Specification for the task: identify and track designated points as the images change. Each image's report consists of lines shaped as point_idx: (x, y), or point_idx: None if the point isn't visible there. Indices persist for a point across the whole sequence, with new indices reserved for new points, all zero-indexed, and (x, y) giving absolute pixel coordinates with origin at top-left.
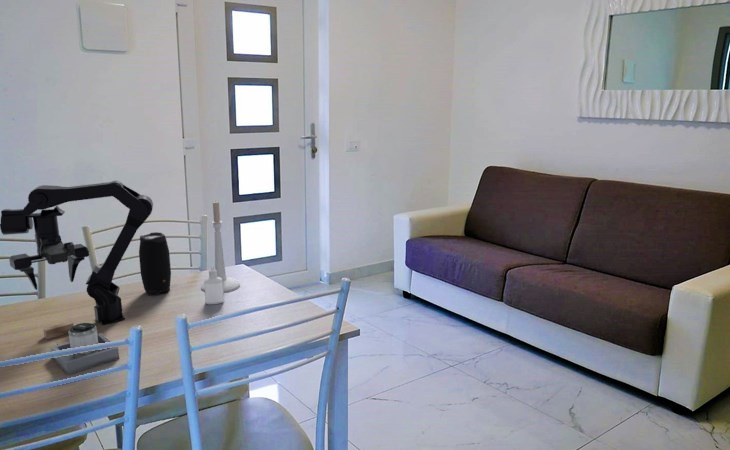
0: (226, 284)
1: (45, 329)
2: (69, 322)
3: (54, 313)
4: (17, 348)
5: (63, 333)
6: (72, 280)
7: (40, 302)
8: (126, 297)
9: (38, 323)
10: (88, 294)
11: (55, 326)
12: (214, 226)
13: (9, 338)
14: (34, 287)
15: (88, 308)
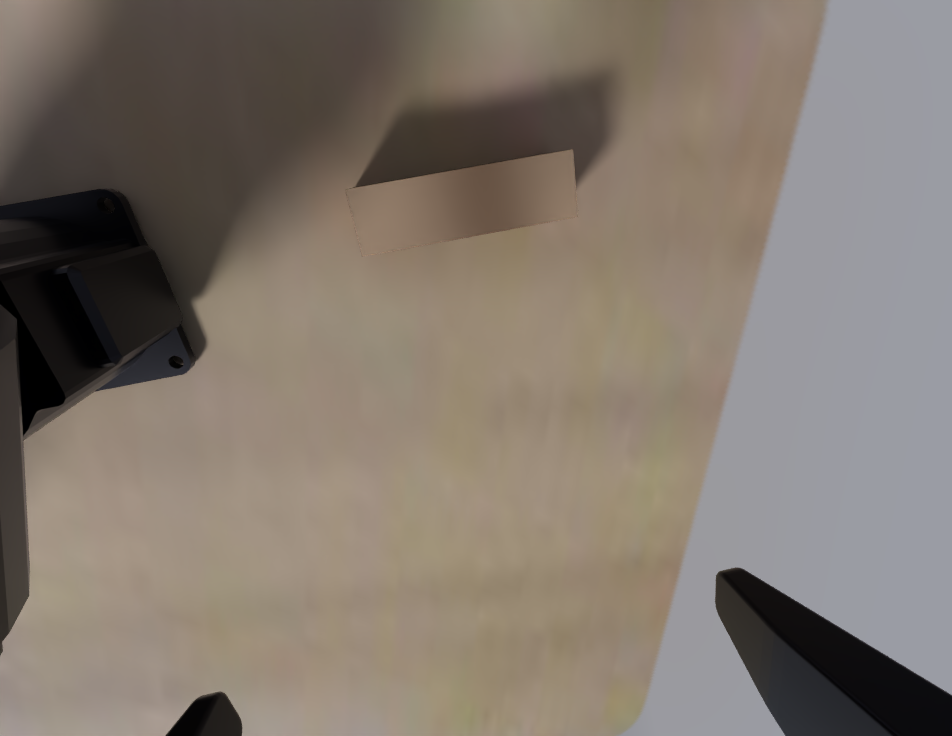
0: None
1: (567, 180)
2: (375, 232)
3: (452, 573)
4: (742, 93)
5: (433, 173)
6: (193, 716)
7: (499, 728)
8: None
9: (551, 469)
10: (12, 335)
11: (489, 203)
12: None
13: (732, 316)
14: (773, 604)
15: (255, 569)
